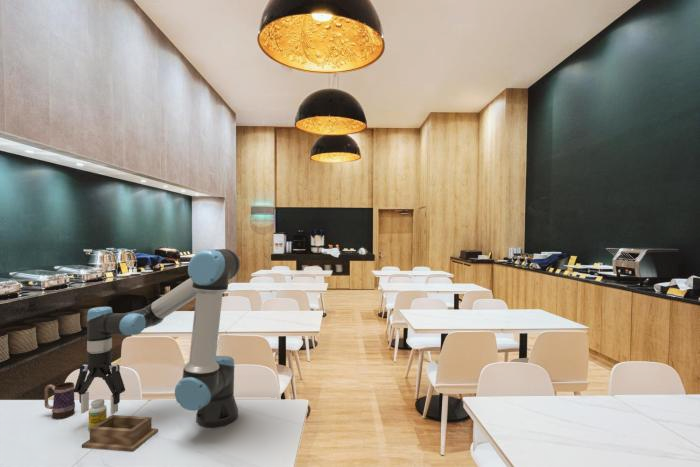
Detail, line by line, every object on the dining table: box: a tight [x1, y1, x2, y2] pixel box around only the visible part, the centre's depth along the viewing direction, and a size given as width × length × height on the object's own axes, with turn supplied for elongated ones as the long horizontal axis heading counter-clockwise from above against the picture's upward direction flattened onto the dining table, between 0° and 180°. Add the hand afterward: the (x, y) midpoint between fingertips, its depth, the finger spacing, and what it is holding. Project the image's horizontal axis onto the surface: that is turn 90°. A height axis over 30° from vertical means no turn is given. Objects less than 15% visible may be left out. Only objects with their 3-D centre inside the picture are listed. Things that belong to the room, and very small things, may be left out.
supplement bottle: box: [88, 398, 108, 431], centre depth 136 cm, size 5×5×10 cm
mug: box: [43, 381, 76, 420], centre depth 146 cm, size 10×7×12 cm
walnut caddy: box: [81, 414, 159, 452], centre depth 129 cm, size 18×13×6 cm
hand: (99, 412), depth 136 cm, fingers open, 11 cm apart
